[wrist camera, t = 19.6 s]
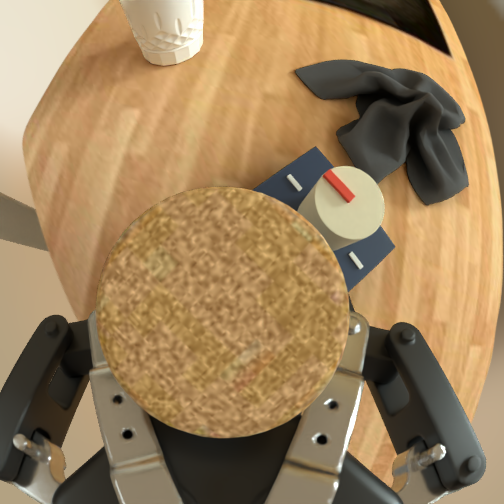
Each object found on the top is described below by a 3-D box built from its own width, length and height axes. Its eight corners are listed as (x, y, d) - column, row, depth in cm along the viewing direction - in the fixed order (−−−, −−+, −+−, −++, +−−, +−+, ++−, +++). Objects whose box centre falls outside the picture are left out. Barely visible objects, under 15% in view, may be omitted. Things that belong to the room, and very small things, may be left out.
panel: (231, 375, 22) (231, 387, 19) (153, 275, 23) (141, 272, 19) (384, 246, 24) (402, 240, 21) (313, 156, 25) (323, 140, 22)
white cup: (215, 59, 26) (211, -15, 16) (141, 79, 25) (115, 9, 15) (200, 21, 27) (195, -43, 17) (136, 38, 26) (116, -23, 16)
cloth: (454, 91, 28) (478, 67, 22) (478, 221, 25) (516, 208, 19) (296, 38, 27) (306, 0, 21) (287, 179, 24) (303, 146, 18)
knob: (364, 224, 21) (399, 205, 16) (325, 264, 20) (355, 255, 15) (324, 180, 21) (349, 150, 16) (283, 218, 21) (299, 194, 15)
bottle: (250, 241, 20) (285, 114, 5) (290, 317, 20) (418, 370, 5) (174, 280, 20) (33, 244, 5) (213, 356, 19) (163, 494, 4)
